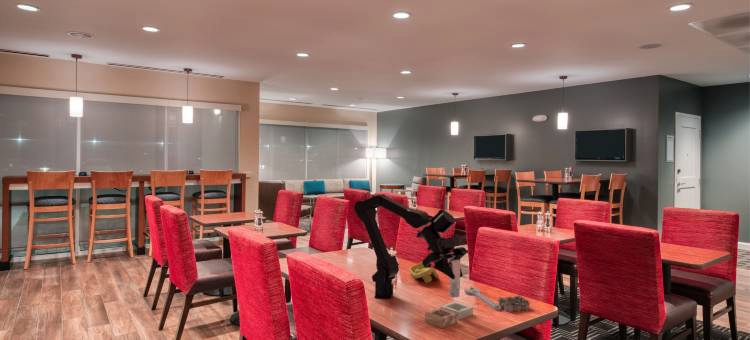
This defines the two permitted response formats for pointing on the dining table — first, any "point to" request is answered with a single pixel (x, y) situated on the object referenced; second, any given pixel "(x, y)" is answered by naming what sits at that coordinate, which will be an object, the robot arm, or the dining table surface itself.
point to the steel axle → (455, 283)
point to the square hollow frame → (459, 309)
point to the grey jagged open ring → (513, 303)
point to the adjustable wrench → (482, 298)
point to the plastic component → (423, 272)
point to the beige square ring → (441, 317)
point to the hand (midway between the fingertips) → (457, 277)
